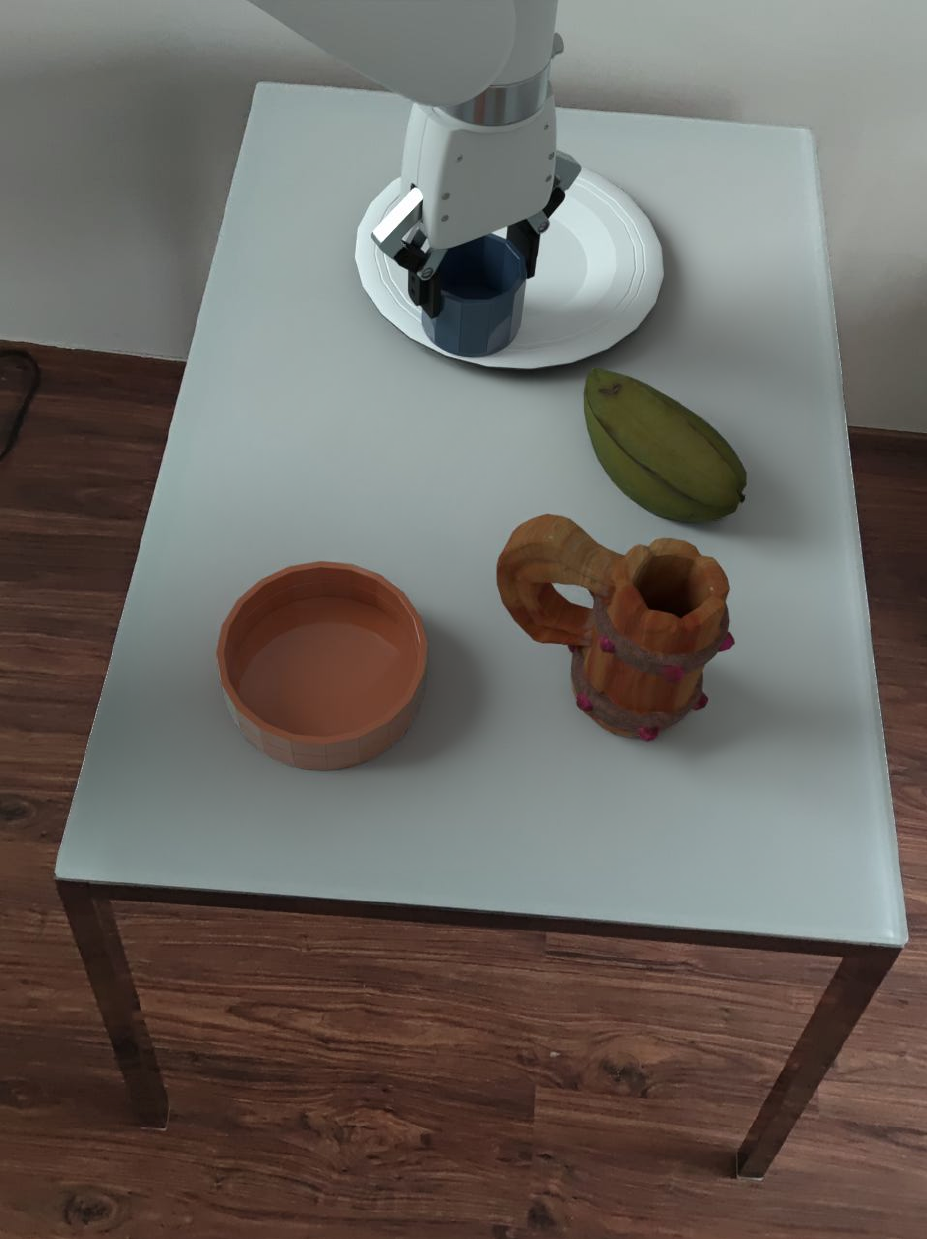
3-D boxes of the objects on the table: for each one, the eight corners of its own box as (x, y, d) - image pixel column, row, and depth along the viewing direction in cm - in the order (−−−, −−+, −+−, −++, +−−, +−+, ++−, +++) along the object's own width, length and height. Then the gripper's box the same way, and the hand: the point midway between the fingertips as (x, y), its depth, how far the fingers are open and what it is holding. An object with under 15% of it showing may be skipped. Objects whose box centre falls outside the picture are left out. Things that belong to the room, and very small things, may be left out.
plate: (325, 356, 94) (324, 339, 92) (387, 147, 106) (387, 128, 105) (647, 406, 93) (652, 389, 91) (670, 189, 106) (675, 171, 104)
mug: (716, 676, 81) (777, 549, 68) (675, 778, 77) (731, 663, 64) (515, 592, 84) (537, 455, 71) (465, 687, 80) (479, 559, 67)
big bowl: (282, 806, 75) (277, 780, 71) (190, 647, 80) (182, 615, 77) (462, 710, 79) (465, 681, 75) (363, 564, 84) (362, 531, 81)
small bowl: (454, 371, 91) (457, 318, 86) (402, 306, 94) (403, 251, 89) (538, 335, 93) (546, 281, 89) (485, 272, 97) (490, 217, 92)
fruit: (578, 534, 86) (591, 477, 81) (576, 405, 92) (588, 343, 87) (738, 544, 87) (762, 488, 81) (725, 414, 93) (747, 353, 87)
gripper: (569, 3, 80) (541, 217, 95) (335, 82, 75) (345, 295, 90) (636, 67, 77) (596, 277, 92) (397, 154, 71) (396, 362, 87)
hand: (472, 285), depth 91 cm, fingers closed on small bowl, 7 cm apart
